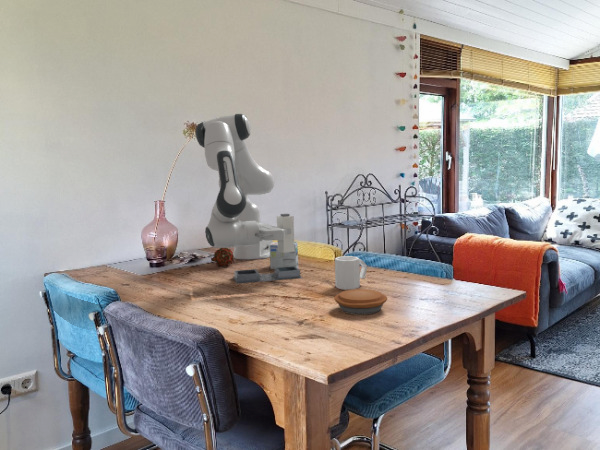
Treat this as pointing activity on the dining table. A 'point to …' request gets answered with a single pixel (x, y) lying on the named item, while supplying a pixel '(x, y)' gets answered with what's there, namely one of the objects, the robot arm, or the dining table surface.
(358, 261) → the mug
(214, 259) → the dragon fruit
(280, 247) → the white rectangular bottle
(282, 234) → the robot arm
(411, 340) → the dining table surface
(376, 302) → the pie
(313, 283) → the dining table surface
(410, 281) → the dining table surface
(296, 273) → the grey double tray
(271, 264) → the light bulb box
